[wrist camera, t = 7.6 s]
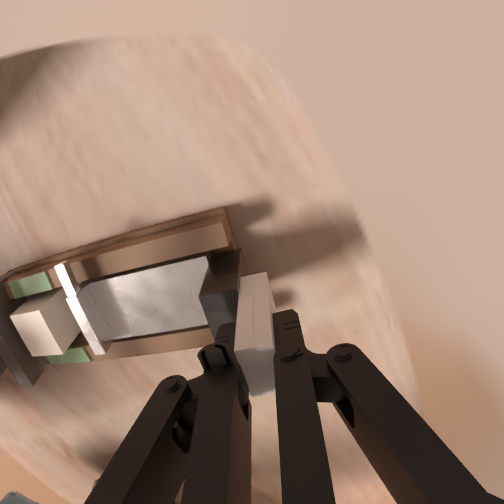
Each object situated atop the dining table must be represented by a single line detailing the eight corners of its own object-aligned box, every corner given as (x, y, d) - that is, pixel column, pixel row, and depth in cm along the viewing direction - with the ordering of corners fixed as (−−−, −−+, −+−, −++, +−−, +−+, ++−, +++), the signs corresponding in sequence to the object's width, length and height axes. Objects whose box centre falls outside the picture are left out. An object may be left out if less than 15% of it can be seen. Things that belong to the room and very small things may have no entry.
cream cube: (53, 331, 24) (32, 356, 20) (34, 293, 23) (9, 316, 19) (83, 327, 24) (63, 354, 20) (63, 286, 22) (39, 310, 19)
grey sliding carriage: (112, 328, 23) (83, 374, 18) (76, 249, 21) (34, 282, 16) (255, 302, 22) (256, 353, 17) (229, 206, 20) (220, 233, 14)
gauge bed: (47, 349, 26) (20, 385, 21) (8, 271, 23) (-30, 299, 18) (256, 317, 24) (256, 368, 19) (224, 206, 21) (214, 232, 16)
